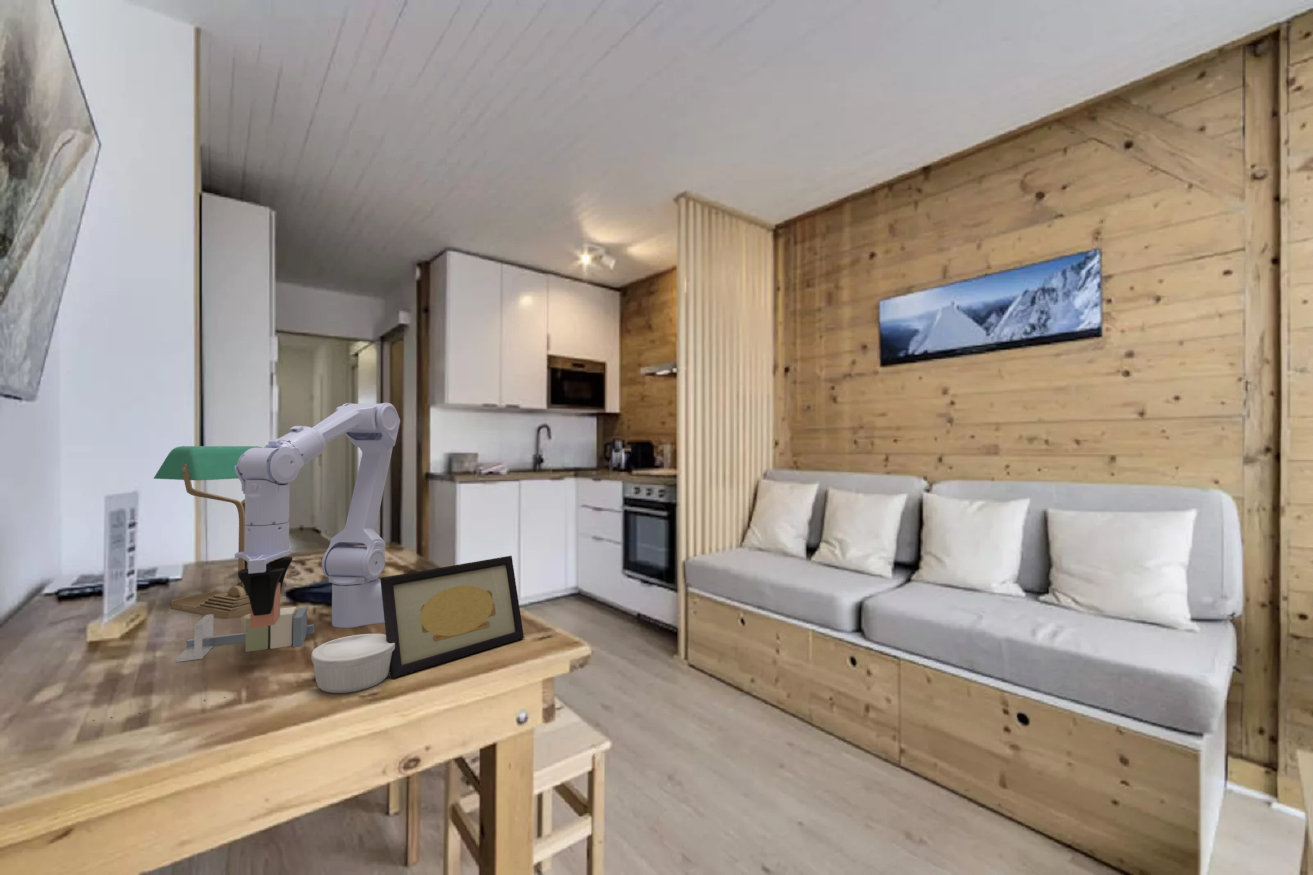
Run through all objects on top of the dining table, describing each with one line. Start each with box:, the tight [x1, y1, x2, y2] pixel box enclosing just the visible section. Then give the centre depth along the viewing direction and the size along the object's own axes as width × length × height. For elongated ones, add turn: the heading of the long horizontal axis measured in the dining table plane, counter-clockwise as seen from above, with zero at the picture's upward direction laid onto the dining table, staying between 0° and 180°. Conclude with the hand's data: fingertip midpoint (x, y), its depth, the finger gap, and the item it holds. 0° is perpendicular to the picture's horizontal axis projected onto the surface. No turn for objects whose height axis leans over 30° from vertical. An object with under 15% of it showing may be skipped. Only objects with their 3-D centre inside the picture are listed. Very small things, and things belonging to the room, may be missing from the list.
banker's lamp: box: [153, 445, 263, 620], centre depth 116 cm, size 16×21×35 cm
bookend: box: [175, 614, 214, 663], centre depth 87 cm, size 3×6×6 cm, turn 26°
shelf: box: [186, 606, 315, 648], centre depth 90 cm, size 18×8×6 cm, turn 116°
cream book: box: [269, 606, 298, 650], centre depth 93 cm, size 3×4×6 cm
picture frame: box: [379, 555, 525, 679], centre depth 93 cm, size 23×9×15 cm, turn 137°
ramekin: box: [310, 633, 395, 694], centre depth 81 cm, size 11×11×5 cm
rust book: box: [249, 582, 281, 628], centre depth 85 cm, size 3×5×6 cm, turn 26°
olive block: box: [244, 614, 271, 653], centre depth 91 cm, size 3×4×6 cm
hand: (266, 609), depth 85 cm, fingers closed on rust book, 5 cm apart
